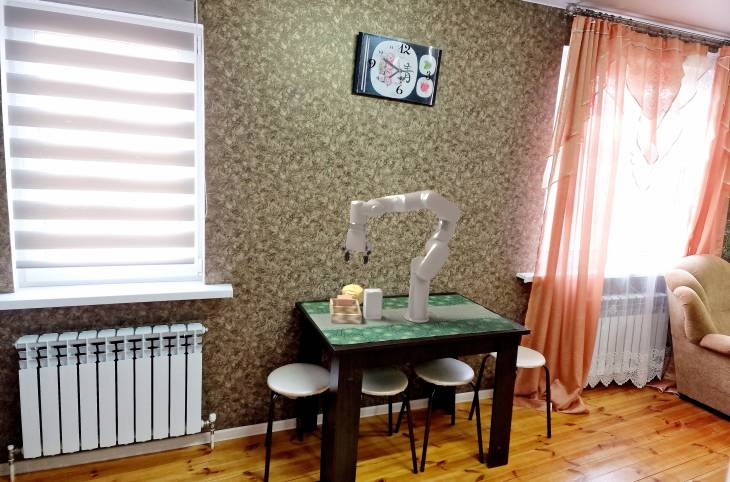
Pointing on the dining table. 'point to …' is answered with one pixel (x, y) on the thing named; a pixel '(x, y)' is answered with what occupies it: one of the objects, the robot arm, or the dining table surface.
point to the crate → (345, 312)
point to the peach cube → (344, 300)
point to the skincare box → (372, 304)
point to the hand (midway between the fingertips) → (356, 262)
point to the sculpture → (354, 292)
